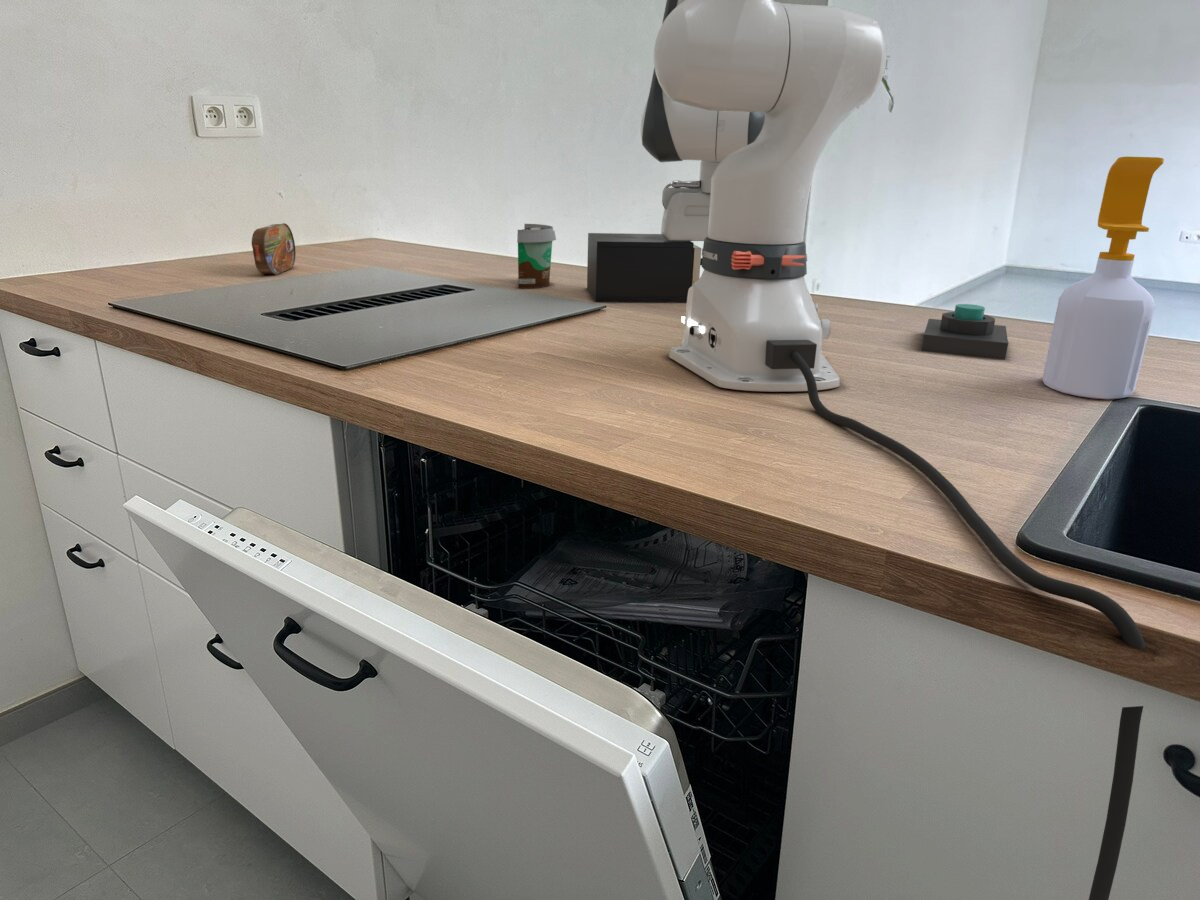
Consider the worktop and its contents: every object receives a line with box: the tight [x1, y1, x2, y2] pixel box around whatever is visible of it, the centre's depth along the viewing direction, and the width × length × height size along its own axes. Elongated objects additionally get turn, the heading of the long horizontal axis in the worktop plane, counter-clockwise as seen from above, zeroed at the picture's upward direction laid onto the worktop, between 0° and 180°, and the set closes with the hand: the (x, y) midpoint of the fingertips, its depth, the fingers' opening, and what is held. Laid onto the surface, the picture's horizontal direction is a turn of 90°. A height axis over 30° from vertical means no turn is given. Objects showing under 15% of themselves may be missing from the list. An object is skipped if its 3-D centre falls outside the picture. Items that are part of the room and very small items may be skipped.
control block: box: [921, 311, 1009, 361], centre depth 114 cm, size 12×10×4 cm
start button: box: [953, 303, 986, 320], centre depth 113 cm, size 4×4×2 cm
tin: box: [251, 222, 297, 276], centre depth 158 cm, size 15×3×8 cm, turn 179°
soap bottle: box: [1042, 156, 1165, 400], centre depth 92 cm, size 9×9×25 cm
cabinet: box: [586, 232, 695, 303], centre depth 144 cm, size 16×13×10 cm
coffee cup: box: [516, 223, 557, 289], centre depth 152 cm, size 12×6×10 cm, turn 179°
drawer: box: [691, 244, 702, 287], centre depth 144 cm, size 19×11×8 cm, turn 97°
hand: (720, 269), depth 141 cm, fingers closed
